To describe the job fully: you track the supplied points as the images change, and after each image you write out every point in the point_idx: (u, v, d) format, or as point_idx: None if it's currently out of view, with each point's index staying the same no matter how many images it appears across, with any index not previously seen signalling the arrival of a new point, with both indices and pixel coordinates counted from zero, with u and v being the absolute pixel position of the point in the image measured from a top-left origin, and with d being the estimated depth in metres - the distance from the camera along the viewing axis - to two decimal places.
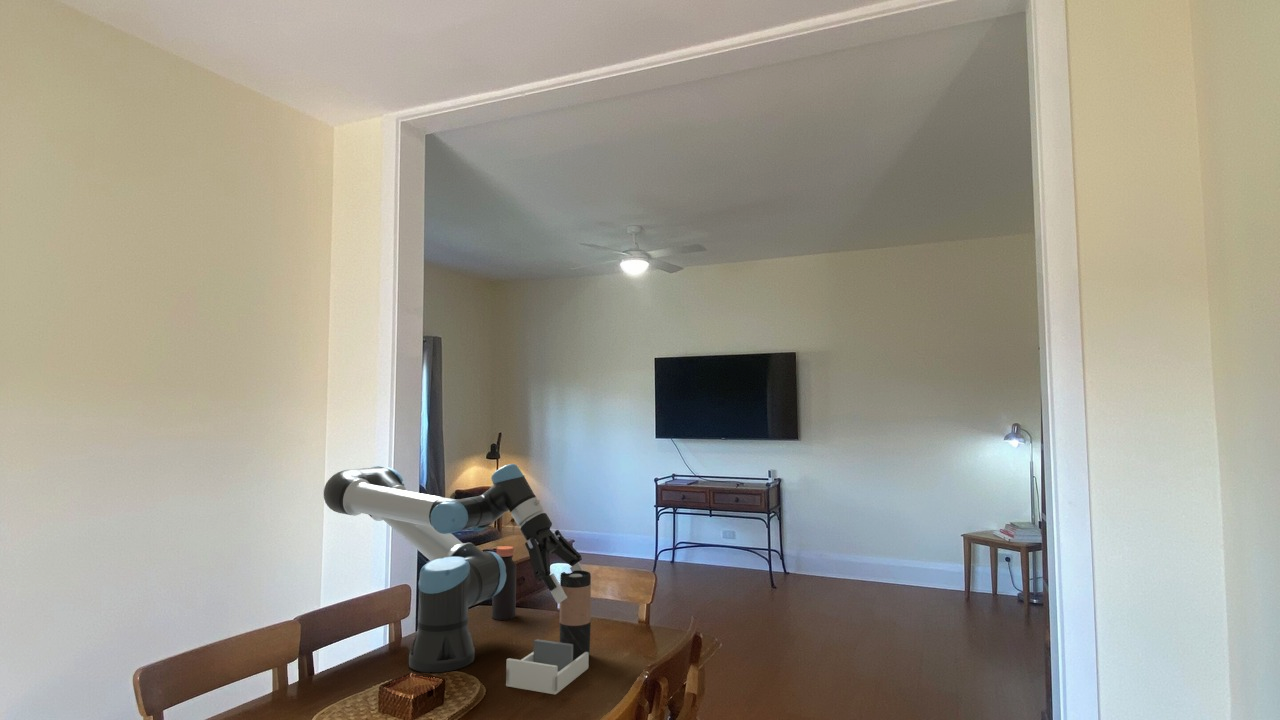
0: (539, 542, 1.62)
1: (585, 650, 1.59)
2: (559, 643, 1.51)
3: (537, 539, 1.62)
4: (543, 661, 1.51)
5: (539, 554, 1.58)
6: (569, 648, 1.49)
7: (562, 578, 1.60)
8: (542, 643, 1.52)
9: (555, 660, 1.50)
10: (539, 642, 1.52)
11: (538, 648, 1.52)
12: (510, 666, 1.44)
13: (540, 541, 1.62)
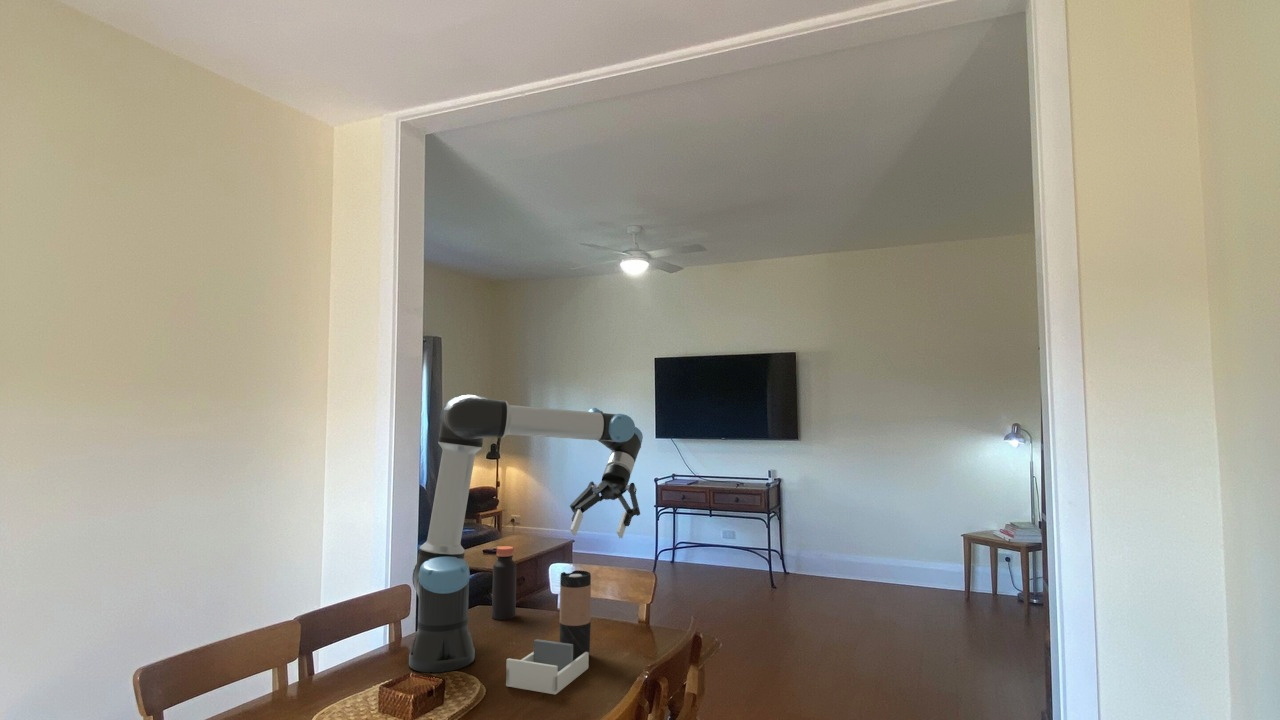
0: (625, 491, 1.83)
1: (585, 650, 1.59)
2: (559, 643, 1.51)
3: None
4: (543, 661, 1.51)
5: None
6: (569, 648, 1.49)
7: (562, 578, 1.60)
8: (542, 643, 1.52)
9: (555, 660, 1.50)
10: (539, 642, 1.52)
11: (538, 648, 1.52)
12: (510, 666, 1.44)
13: None
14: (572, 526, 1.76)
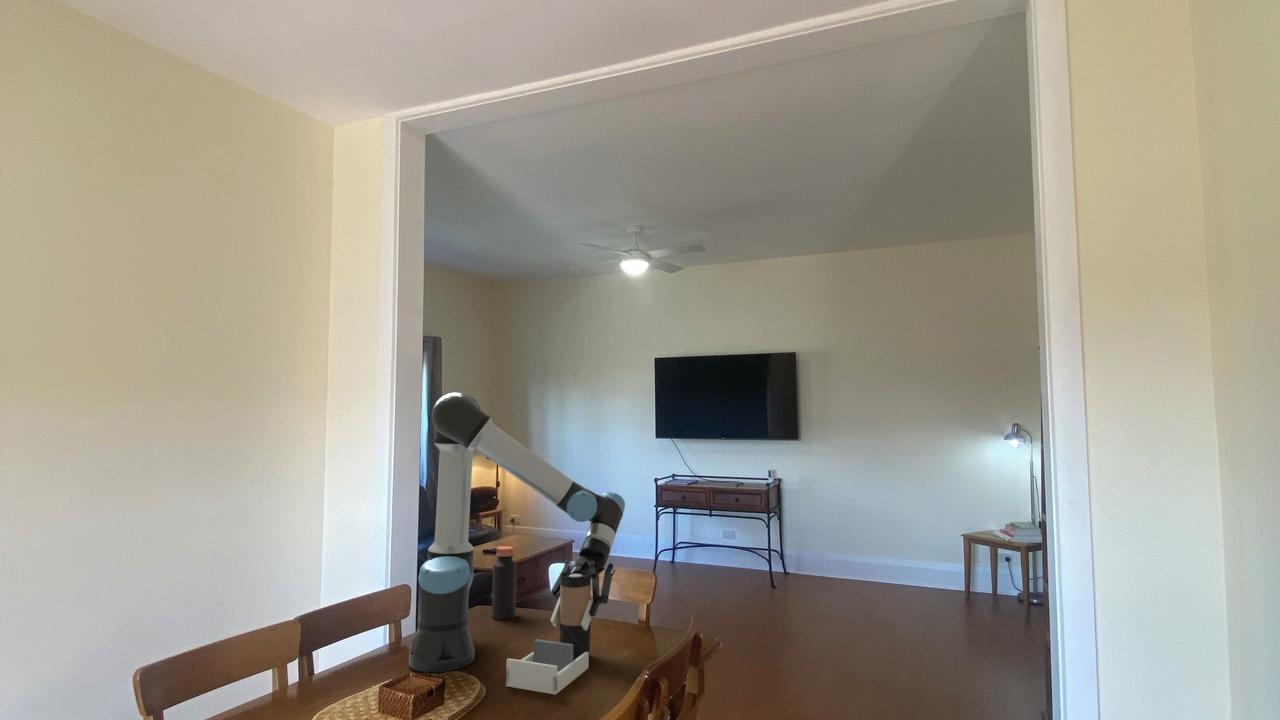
0: (603, 569, 1.69)
1: (585, 650, 1.59)
2: (559, 643, 1.51)
3: None
4: (543, 661, 1.51)
5: None
6: (569, 648, 1.49)
7: (562, 578, 1.60)
8: (542, 643, 1.52)
9: (555, 660, 1.50)
10: (539, 642, 1.52)
11: (538, 648, 1.52)
12: (510, 666, 1.44)
13: None
14: (553, 617, 1.60)
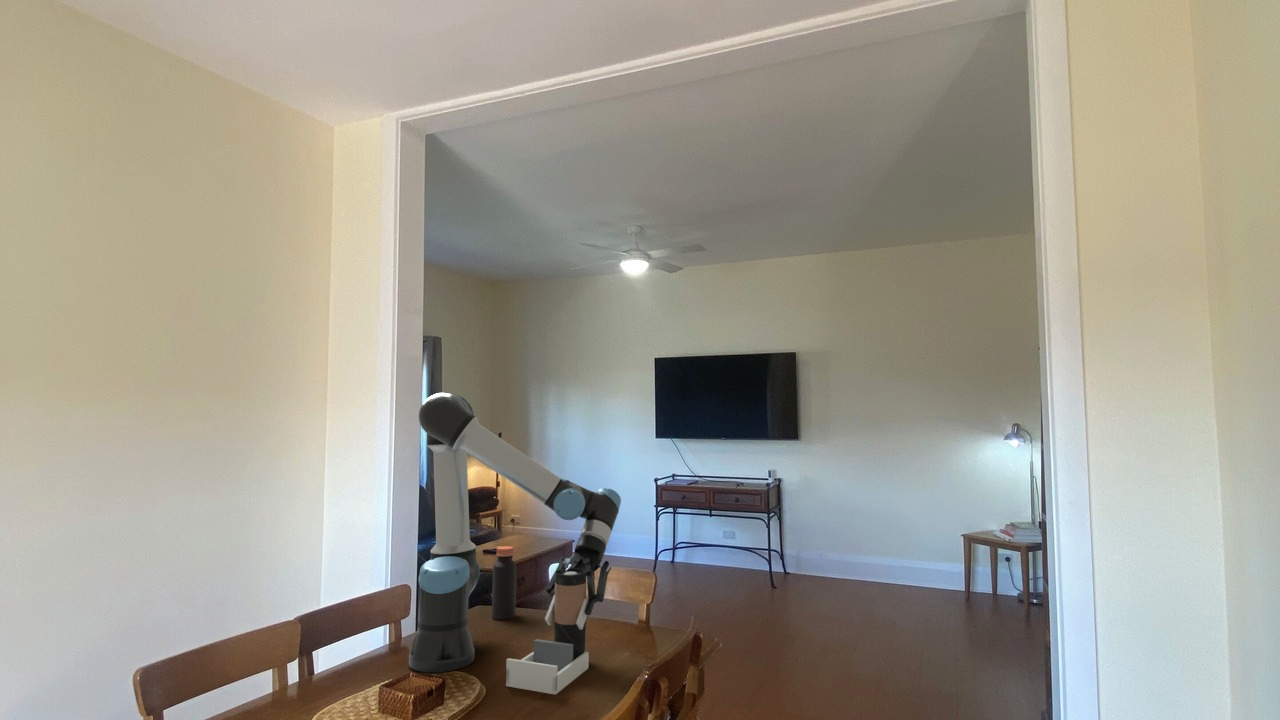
0: (598, 567, 1.66)
1: (580, 649, 1.55)
2: (559, 643, 1.51)
3: None
4: (543, 661, 1.51)
5: None
6: (569, 648, 1.49)
7: (557, 576, 1.57)
8: (542, 643, 1.52)
9: (555, 660, 1.50)
10: (539, 642, 1.52)
11: (538, 648, 1.52)
12: (510, 666, 1.44)
13: None
14: (547, 615, 1.56)
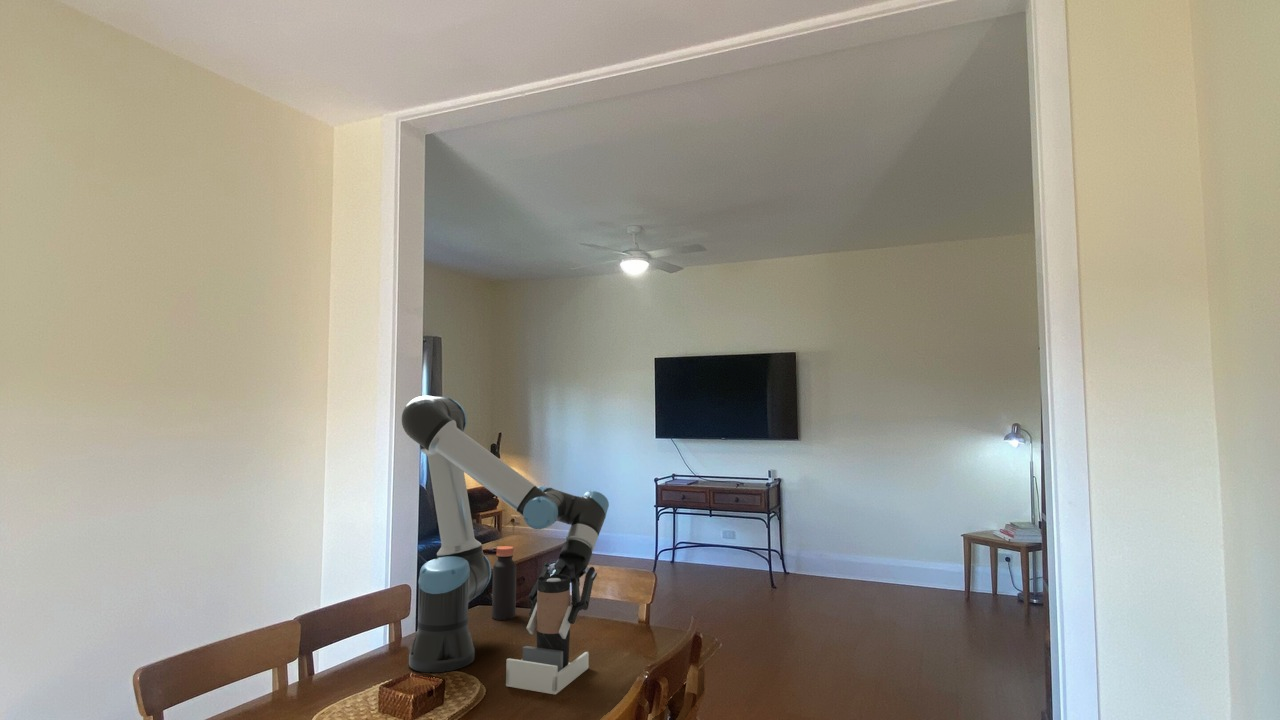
0: (584, 573, 1.59)
1: (563, 660, 1.49)
2: (549, 650, 1.46)
3: None
4: None
5: None
6: (559, 655, 1.44)
7: (539, 583, 1.50)
8: (531, 650, 1.47)
9: None
10: (528, 649, 1.47)
11: (527, 655, 1.47)
12: (510, 666, 1.44)
13: None
14: (529, 624, 1.49)
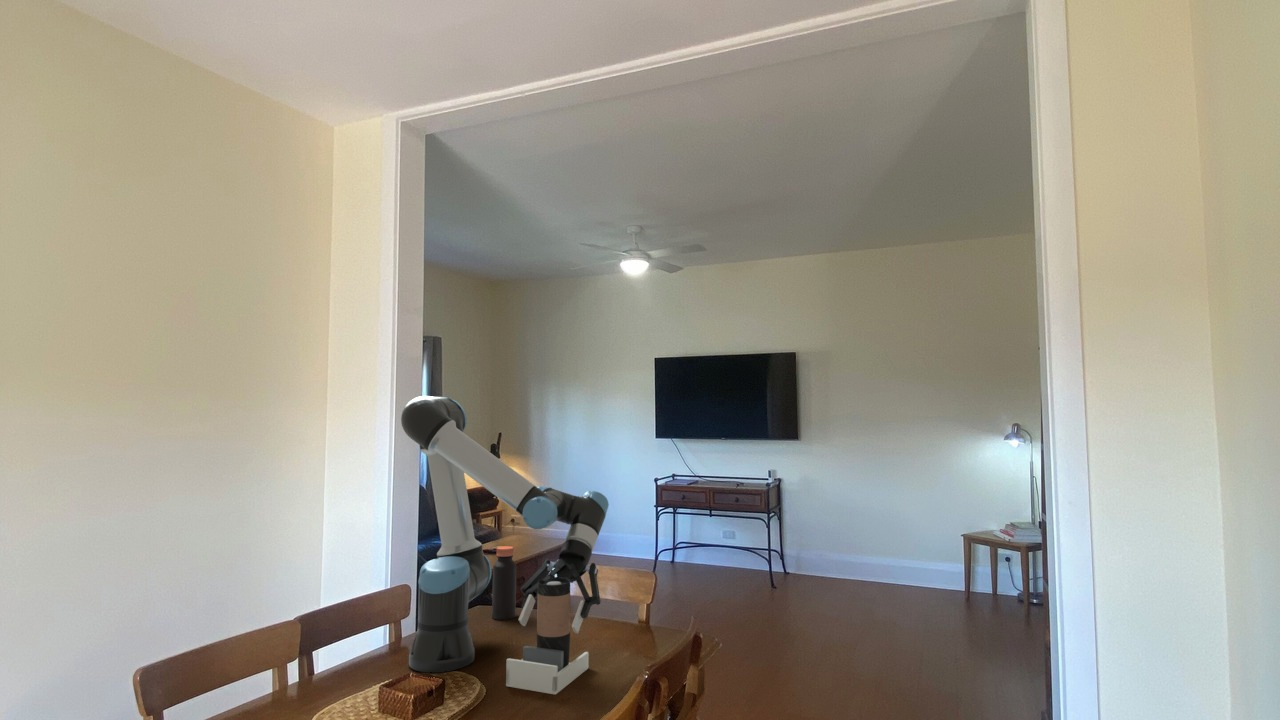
0: (585, 572, 1.59)
1: (564, 663, 1.49)
2: (549, 650, 1.46)
3: None
4: None
5: None
6: (559, 655, 1.45)
7: (539, 586, 1.50)
8: (531, 650, 1.47)
9: None
10: (528, 649, 1.47)
11: (527, 655, 1.47)
12: (510, 666, 1.44)
13: None
14: (521, 616, 1.51)
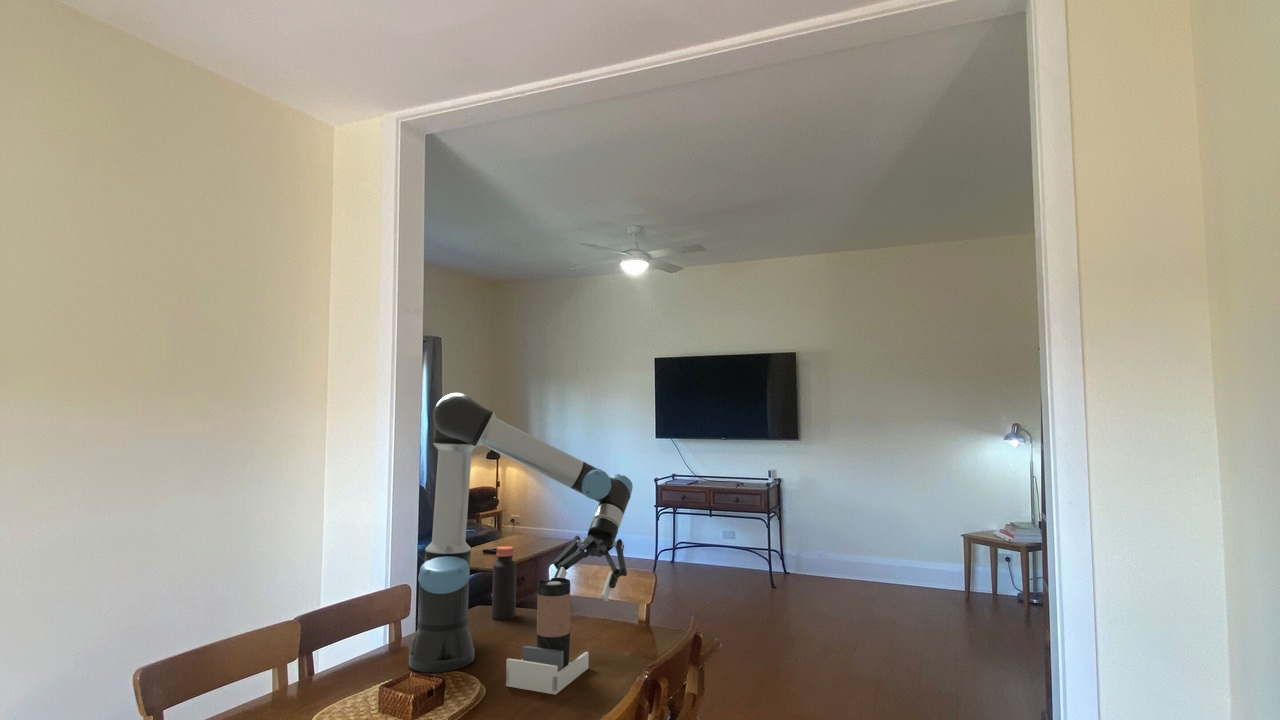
0: None
1: (564, 663, 1.49)
2: (549, 650, 1.46)
3: None
4: None
5: None
6: (559, 655, 1.45)
7: (539, 586, 1.50)
8: (531, 650, 1.47)
9: None
10: (528, 649, 1.47)
11: (527, 655, 1.47)
12: (510, 666, 1.44)
13: None
14: None
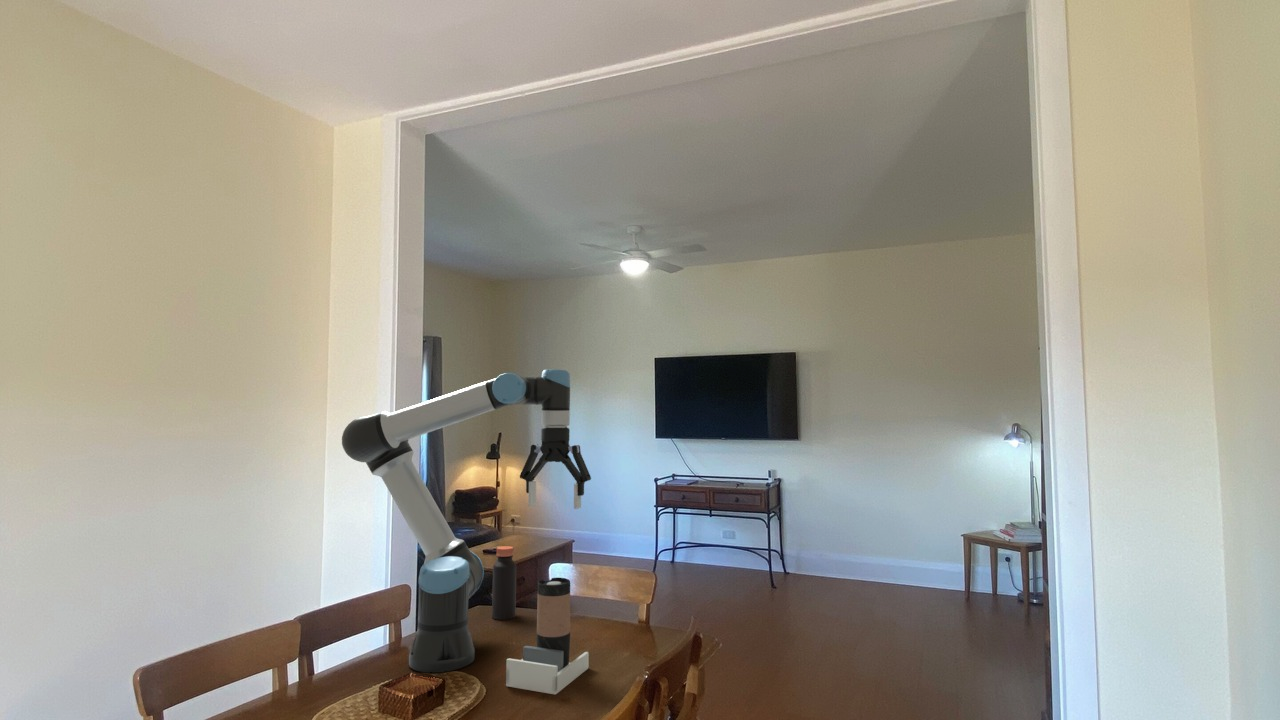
0: None
1: (564, 663, 1.49)
2: (549, 650, 1.46)
3: None
4: None
5: None
6: (559, 655, 1.45)
7: (539, 586, 1.50)
8: (531, 650, 1.47)
9: None
10: (528, 649, 1.47)
11: (527, 655, 1.47)
12: (510, 666, 1.44)
13: None
14: (529, 502, 1.76)
